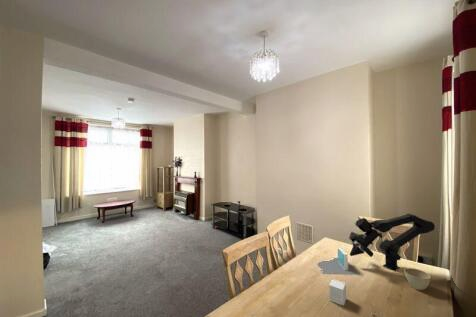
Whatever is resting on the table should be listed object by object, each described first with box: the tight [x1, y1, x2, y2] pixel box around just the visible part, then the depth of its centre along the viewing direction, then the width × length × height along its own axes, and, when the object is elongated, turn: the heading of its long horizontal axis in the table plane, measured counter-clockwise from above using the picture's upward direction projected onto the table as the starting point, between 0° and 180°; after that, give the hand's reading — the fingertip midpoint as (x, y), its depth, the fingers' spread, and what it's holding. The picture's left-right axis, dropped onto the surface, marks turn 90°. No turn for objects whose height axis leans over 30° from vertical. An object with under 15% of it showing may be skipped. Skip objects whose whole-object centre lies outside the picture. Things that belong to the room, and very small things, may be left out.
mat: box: [316, 257, 360, 276], centre depth 124 cm, size 20×20×1 cm
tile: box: [337, 247, 349, 270], centre depth 124 cm, size 2×10×9 cm, turn 175°
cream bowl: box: [403, 267, 431, 291], centre depth 102 cm, size 10×10×7 cm
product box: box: [328, 278, 347, 307], centre depth 94 cm, size 6×6×7 cm
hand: (350, 255), depth 123 cm, fingers closed
